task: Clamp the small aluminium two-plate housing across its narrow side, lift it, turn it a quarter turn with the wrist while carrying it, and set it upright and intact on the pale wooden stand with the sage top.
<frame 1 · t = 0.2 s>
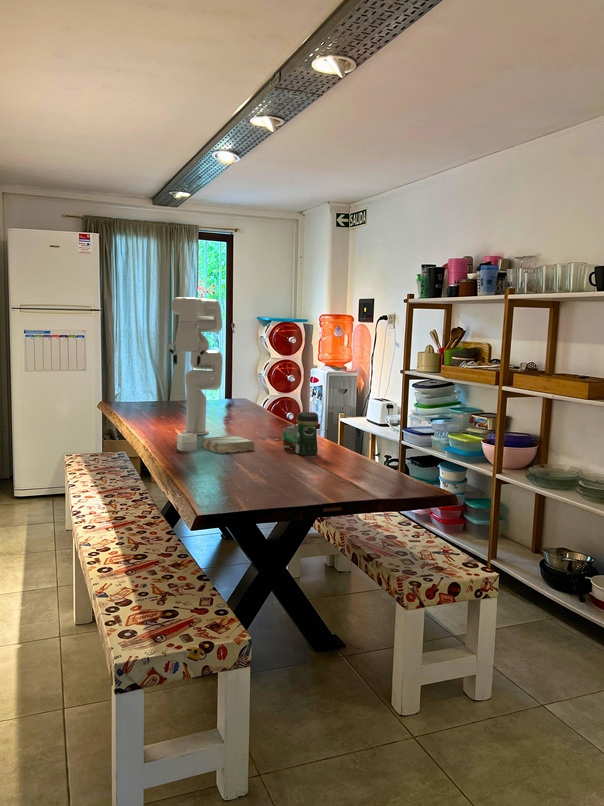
hand: (186, 364, 290), 37 cm above the table, tool pointing down, fingers open, 9 cm apart
wooden stand: (227, 448, 293), on the table
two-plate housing: (186, 450, 286), on the table
coffee jar: (306, 454, 288), on the table
food container: (291, 448, 301), on the table
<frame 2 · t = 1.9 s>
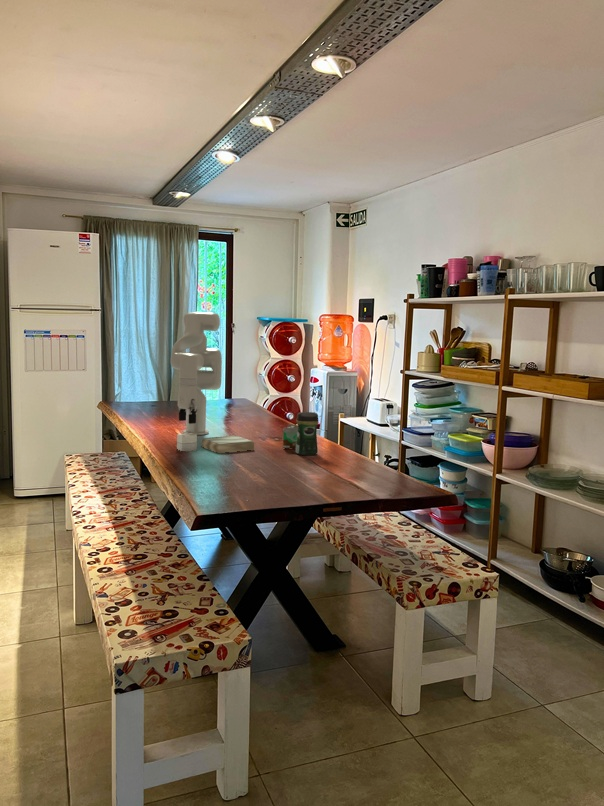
hand: (187, 422, 284), 12 cm above the table, tool pointing down, fingers open, 9 cm apart
nothing on the table moved.
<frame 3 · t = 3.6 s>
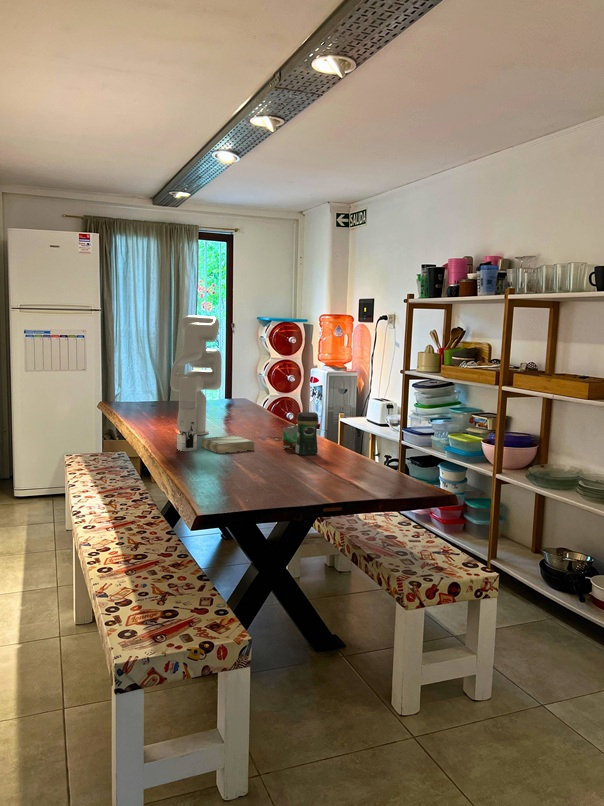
hand: (186, 446, 285), 2 cm above the table, tool pointing down, fingers closed on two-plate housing, 5 cm apart
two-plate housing: (186, 450, 286), on the table, touching gripper
everything else where it was.
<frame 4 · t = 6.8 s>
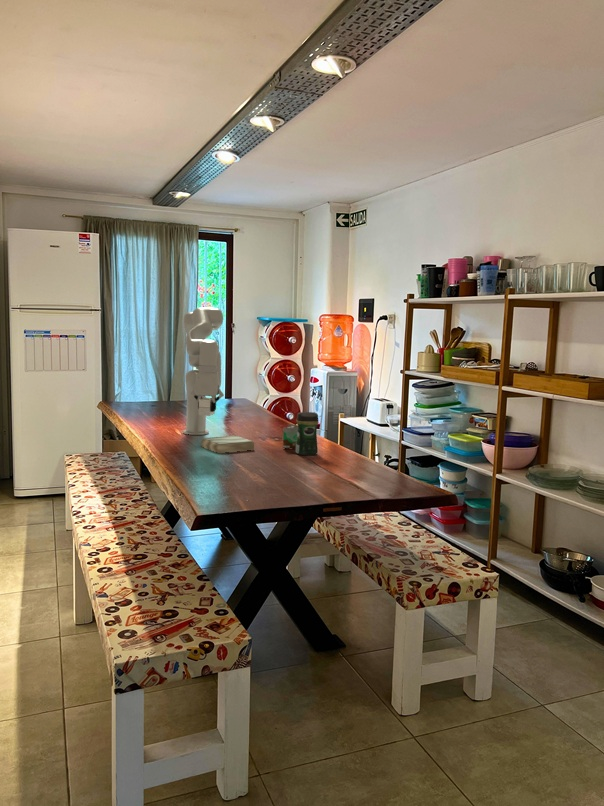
hand: (206, 410, 287), 17 cm above the table, tool pointing down, fingers closed on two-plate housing, 5 cm apart
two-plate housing: (206, 414, 287), point 16 cm above the table, touching gripper
everything else where it was.
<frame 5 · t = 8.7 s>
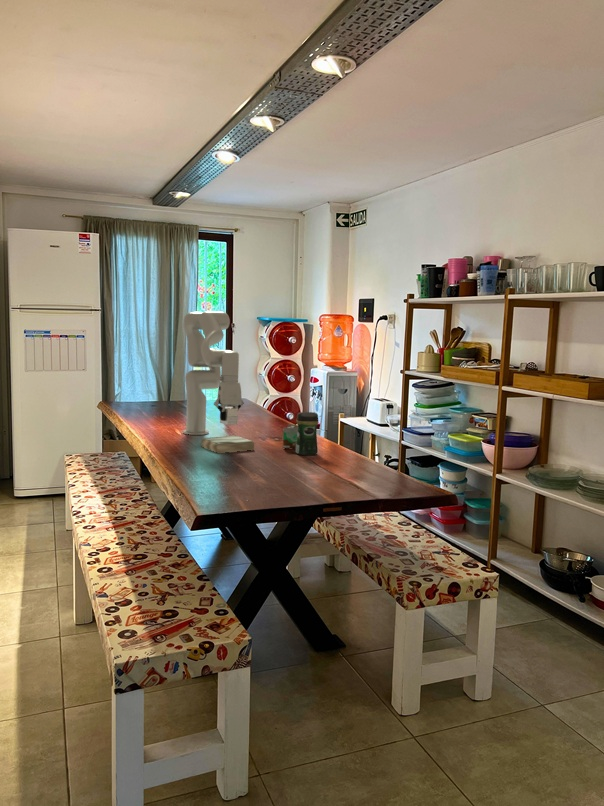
hand: (228, 419, 291), 13 cm above the table, tool pointing down, fingers closed on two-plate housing, 5 cm apart
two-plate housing: (228, 423, 291), point 11 cm above the table, touching gripper
everything else where it was.
when the fingers open (7 cm above the table, at t = 10.1 s): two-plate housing drops 1 cm, resting on wooden stand.
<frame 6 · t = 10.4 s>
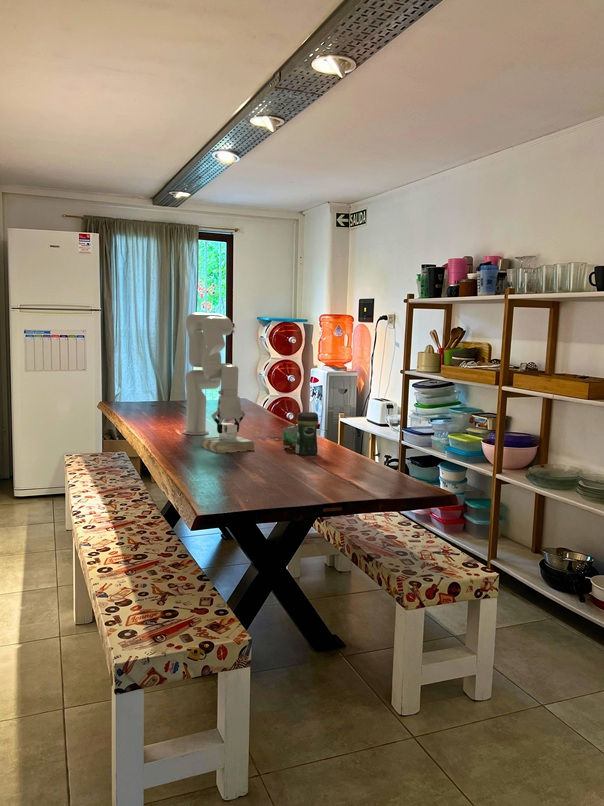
hand: (228, 432, 292), 7 cm above the table, tool pointing down, fingers open, 7 cm apart
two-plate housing: (227, 439, 292), point 4 cm above the table, touching wooden stand
everything else where it was.
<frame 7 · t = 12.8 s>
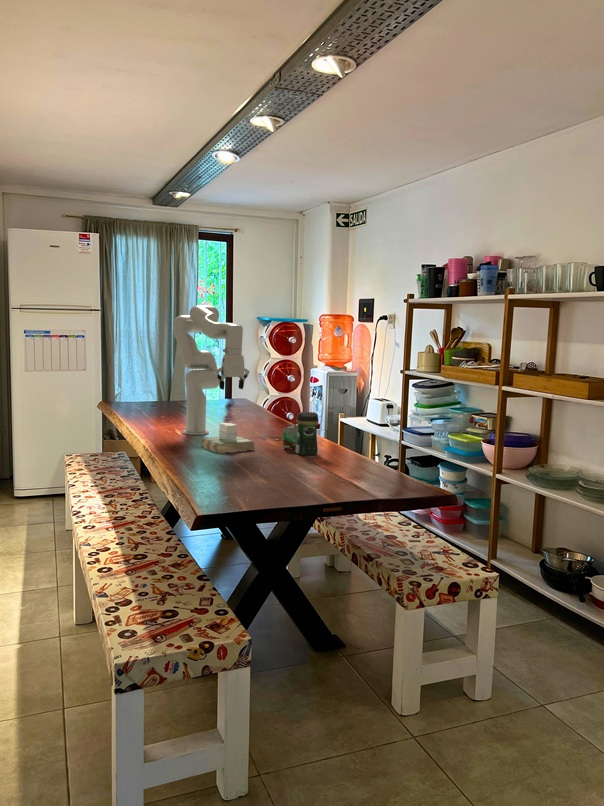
hand: (231, 389, 300), 26 cm above the table, tool pointing down, fingers open, 9 cm apart
nothing on the table moved.
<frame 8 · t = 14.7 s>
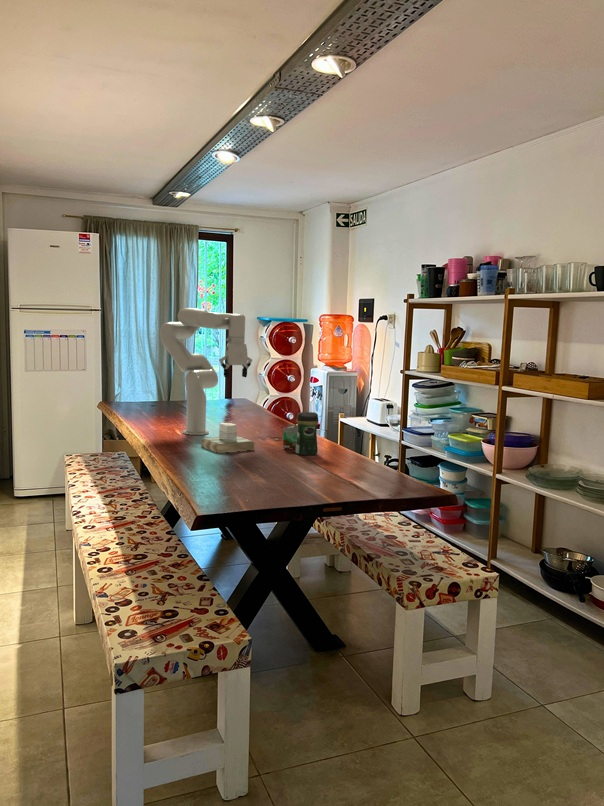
hand: (235, 377, 309), 30 cm above the table, tool pointing down, fingers open, 9 cm apart
nothing on the table moved.
at the end: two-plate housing inside the target area on the wooden stand (0.0 cm from its centre), point 4.0 cm above the wooden stand's base; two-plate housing tilted 0°; the gripper is holding nothing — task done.
